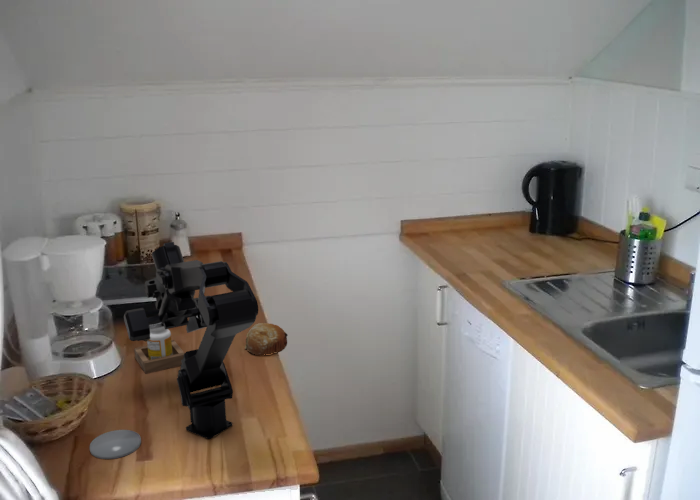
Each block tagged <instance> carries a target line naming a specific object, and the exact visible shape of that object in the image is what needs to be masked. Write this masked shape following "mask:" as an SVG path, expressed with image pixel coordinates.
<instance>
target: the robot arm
mask: <svg viewBox="0 0 700 500" xmlns="http://www.w3.org/2000/svg"><path fill="white" fill-rule="evenodd" d="M151 256H152V260H153V262H154V267H155V269H156V271H155V277H154V278H153V279H152V278H151V279H149V280H146V281H145V283H144V288H143V289H144V292H145V295H146V297H147V298H153V299H155V304H154V305H155V308H156V310H159V312H158V315H154V316H150V317H147V314H146V311H145V308H144V307H140V308H134V309H130V310H126V311H125V312H124V315H123V322H124V324H125V327H126V331H127V335H128V339H129V340H130V341H132V342H136V341H137V342H140V341H142V342H147V341H149V339H150V329H155V328H160V327H165V329H168V330H170V329H174V328H178V327H182V326H185V327H186V328H185V330H186V333H188V334H189V333H192V332H196V331H198V330H202V329H205V330H204V333H203V336H202V339H201V341H200V344H199V346H198V348H196V349H193V350H189V351H185V352H184V353H185V354H184V356H183V359H182V360H181V362H182V364H181V366H179V367H180V369H178V372H177V378H176V382H177V386H178V390H179V395H180V399H181V401H180V402H181V405H182V407H187V408H188V410H189V415H190V423H191V424H189V425H187V426H186V427H185V430H186V431H187V432H189V433H192V434H194V435H196V436H199V437H202V438H204V439H206V440H212V439H213V438H214V437H216V436H218V435H219V434H221V433H223V432H224V431H226V430H227V429H229V428H231V427H232V426H233V422H232V421H229V420H227V414H226V413H227V412H226V411H227V410H226V400H230V399H233V396H234V390H233V387H232V384H231V381H230V377H229V375H228V371H227V368H226V364H225V363H224V360H225V358H226V356H227V353H228V352H229V350H230V347H231V345H232V344H233V341H234V340H235V338H236V336H237V334H239V333H241V332H243V331H245V330H247V329H249V328H250V327H252V325H254V324H255V322H256V319H257V316H258V314H259V304H258V300H257V298H256V295H255V294H254V292H253V290H252V288H251V286H250V284H249V282H248V281H247V280H245V279H244V278H242V277H241V276H239V275H238V274H236V273H235V272H233V271H232V269H231V267H230V266H229V264H228V263H227V261H224V262H223V261H214V262H207V263H204V262H202V261H201V260H198V259H196V260H195V259H194V260H188V261H185V260H184V256H183V254H182V250H181V248H180V246H179V245H177V244H175V242H174V241H170V242H164V243H163V245H162V246H159V247H157V248H156V249H155V250H153V251H152V253H151ZM218 286H225V287H226V288H227V289H228V290H230V292H224V293H219V294H214V295H205V291H206V289H207V288H212V287H218ZM197 290H198V291H199V293H198V297H194V296H195V294H196V291H197ZM154 324H155V325H154ZM206 389H207V390H206ZM198 391H199V392H198Z"/></svg>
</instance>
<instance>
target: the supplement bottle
mask: <svg viewBox="0 0 700 500" xmlns="http://www.w3.org/2000/svg"><path fill="white" fill-rule="evenodd" d="M154 325H155V324H154ZM171 340H172V333H171V330H170V329H165V327H160V328H155V329H150V339H149V341H146V343H147V344H146V346H148V355H149V357H148V360H152V359H156V358H161V357H165V356H170V355H173V354H172V342H171Z"/></svg>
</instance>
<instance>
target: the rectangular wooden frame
mask: <svg viewBox="0 0 700 500" xmlns="http://www.w3.org/2000/svg"><path fill="white" fill-rule="evenodd" d="M171 342H172V354H173V355H170V356H165V357H161V358H156V359H152V360H149V355H148V345H144V346H143V345H142V346H139V347H134V349H133V351H134V358H135V360H136V362H137V363H138V365H139V366H140V367H141V369H142V371H143V372H144V374H150V373H154V372H155V373H156V372H159V371H164V370H168V369H171V368H172V369H173V368H176V367H181V364H182V362H181V360H182V359H183V356H184V354H185V353H186V352H185V351H184V350H183V349H182V348H181V347H180V345H179V344H178V343H177V342H176V341H175V339H171Z"/></svg>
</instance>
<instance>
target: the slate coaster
mask: <svg viewBox="0 0 700 500" xmlns="http://www.w3.org/2000/svg"><path fill="white" fill-rule="evenodd" d="M141 444H142V438H141V436H140V434H139V433H138V432H136V431H134V430H131V429H130V430H129V429H115V430H111V431H107V432H105V433H102V434H100V435H98V436H97V437H95V438H94V439H93V440H92V441H91V442H90V444H89V451H90V454H91V456H93V457H94V458H97V459H103V460H113V459H114V460H115V459H118V458H123V457H125V456H128V455H131V454H132V453H134V452H136V451H137V450H138V449H139V448H140V446H141Z"/></svg>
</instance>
